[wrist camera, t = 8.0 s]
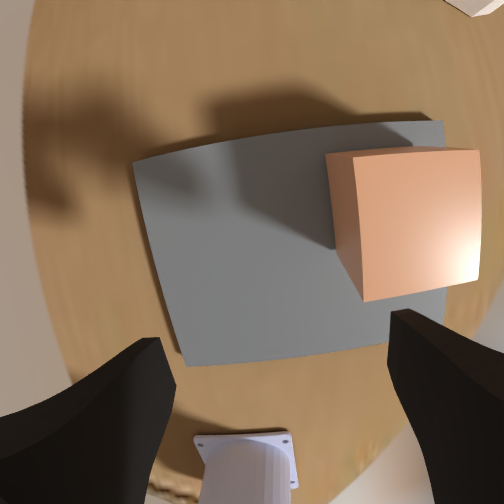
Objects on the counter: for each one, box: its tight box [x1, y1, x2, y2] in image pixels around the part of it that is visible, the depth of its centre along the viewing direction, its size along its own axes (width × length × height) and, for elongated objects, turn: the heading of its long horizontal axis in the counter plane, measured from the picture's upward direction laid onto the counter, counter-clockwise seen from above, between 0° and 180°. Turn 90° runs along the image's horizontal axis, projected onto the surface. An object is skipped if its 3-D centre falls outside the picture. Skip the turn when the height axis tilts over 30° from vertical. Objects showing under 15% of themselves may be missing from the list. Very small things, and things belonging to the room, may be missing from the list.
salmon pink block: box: [325, 146, 482, 302], centre depth 13 cm, size 5×5×6 cm
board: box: [132, 121, 447, 367], centre depth 18 cm, size 13×17×1 cm
